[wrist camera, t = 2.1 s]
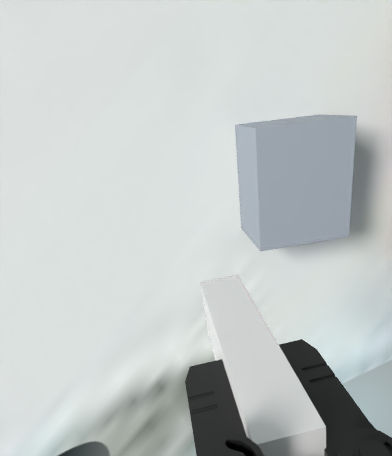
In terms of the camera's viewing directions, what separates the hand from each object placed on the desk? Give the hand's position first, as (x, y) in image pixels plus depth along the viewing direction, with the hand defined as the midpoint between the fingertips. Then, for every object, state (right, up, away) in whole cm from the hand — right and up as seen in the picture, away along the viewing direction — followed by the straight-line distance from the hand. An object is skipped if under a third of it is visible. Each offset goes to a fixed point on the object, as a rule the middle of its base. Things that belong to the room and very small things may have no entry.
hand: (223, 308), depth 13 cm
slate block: (+7, +9, +19) cm, 22 cm away
